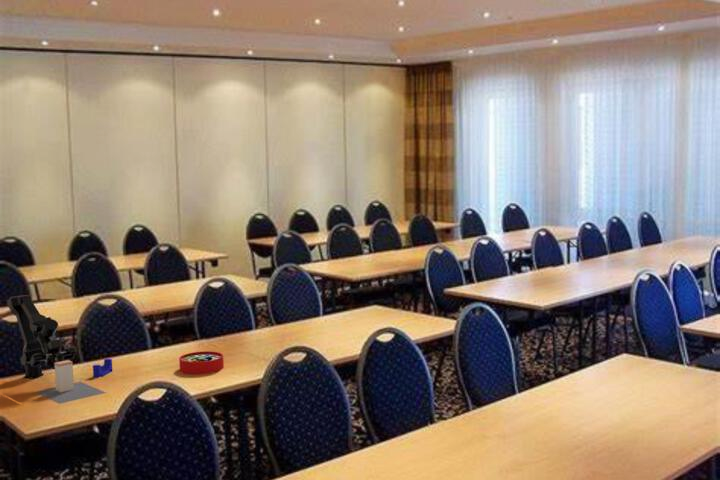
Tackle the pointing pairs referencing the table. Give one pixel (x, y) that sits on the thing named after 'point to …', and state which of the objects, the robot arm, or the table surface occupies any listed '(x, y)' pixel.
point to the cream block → (64, 376)
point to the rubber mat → (70, 393)
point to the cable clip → (102, 368)
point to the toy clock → (201, 362)
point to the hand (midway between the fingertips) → (60, 372)
